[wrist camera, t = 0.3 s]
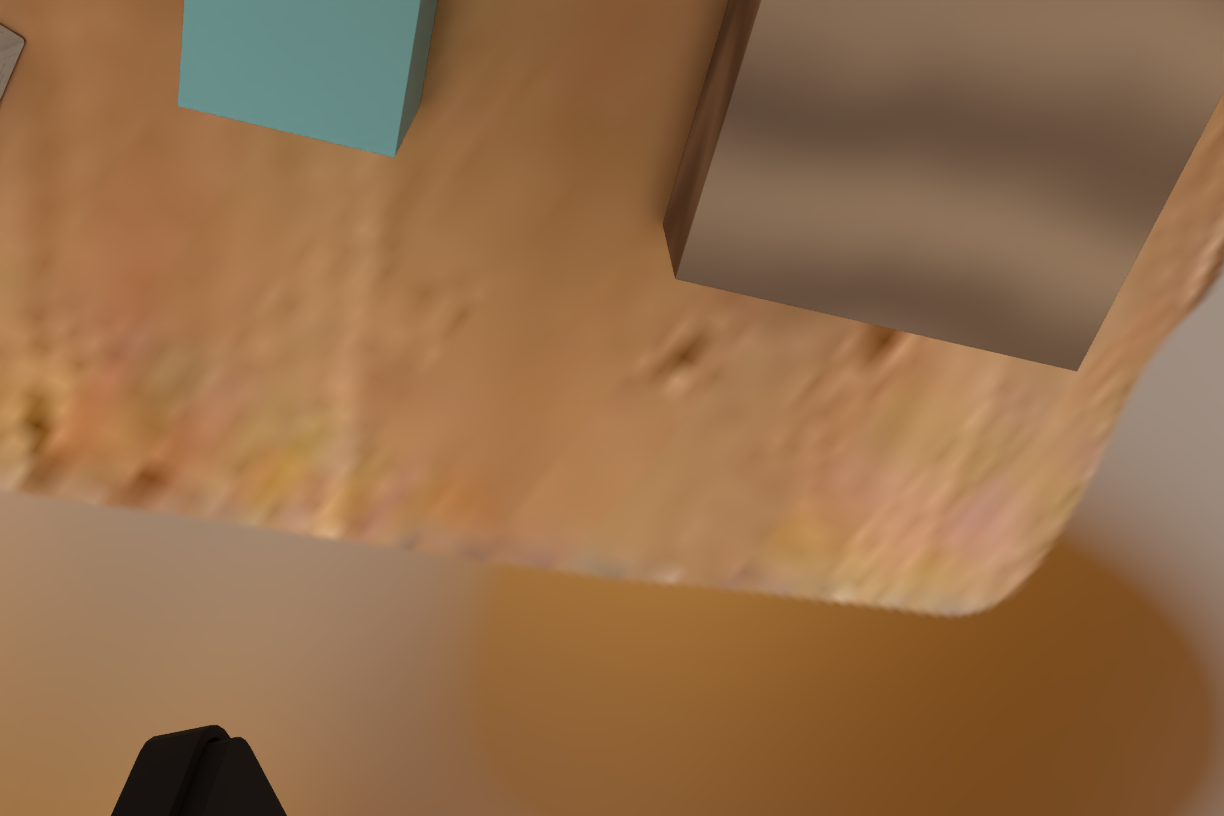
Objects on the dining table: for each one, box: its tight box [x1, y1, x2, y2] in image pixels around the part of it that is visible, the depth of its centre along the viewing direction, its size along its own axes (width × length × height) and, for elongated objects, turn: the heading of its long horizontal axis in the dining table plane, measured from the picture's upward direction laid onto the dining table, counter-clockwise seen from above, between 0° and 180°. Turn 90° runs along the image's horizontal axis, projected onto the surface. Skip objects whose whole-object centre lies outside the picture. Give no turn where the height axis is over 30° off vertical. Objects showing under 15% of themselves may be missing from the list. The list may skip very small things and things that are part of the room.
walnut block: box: [663, 0, 1224, 371], centre depth 34 cm, size 14×14×5 cm
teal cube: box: [178, 0, 438, 158], centre depth 31 cm, size 6×6×6 cm
